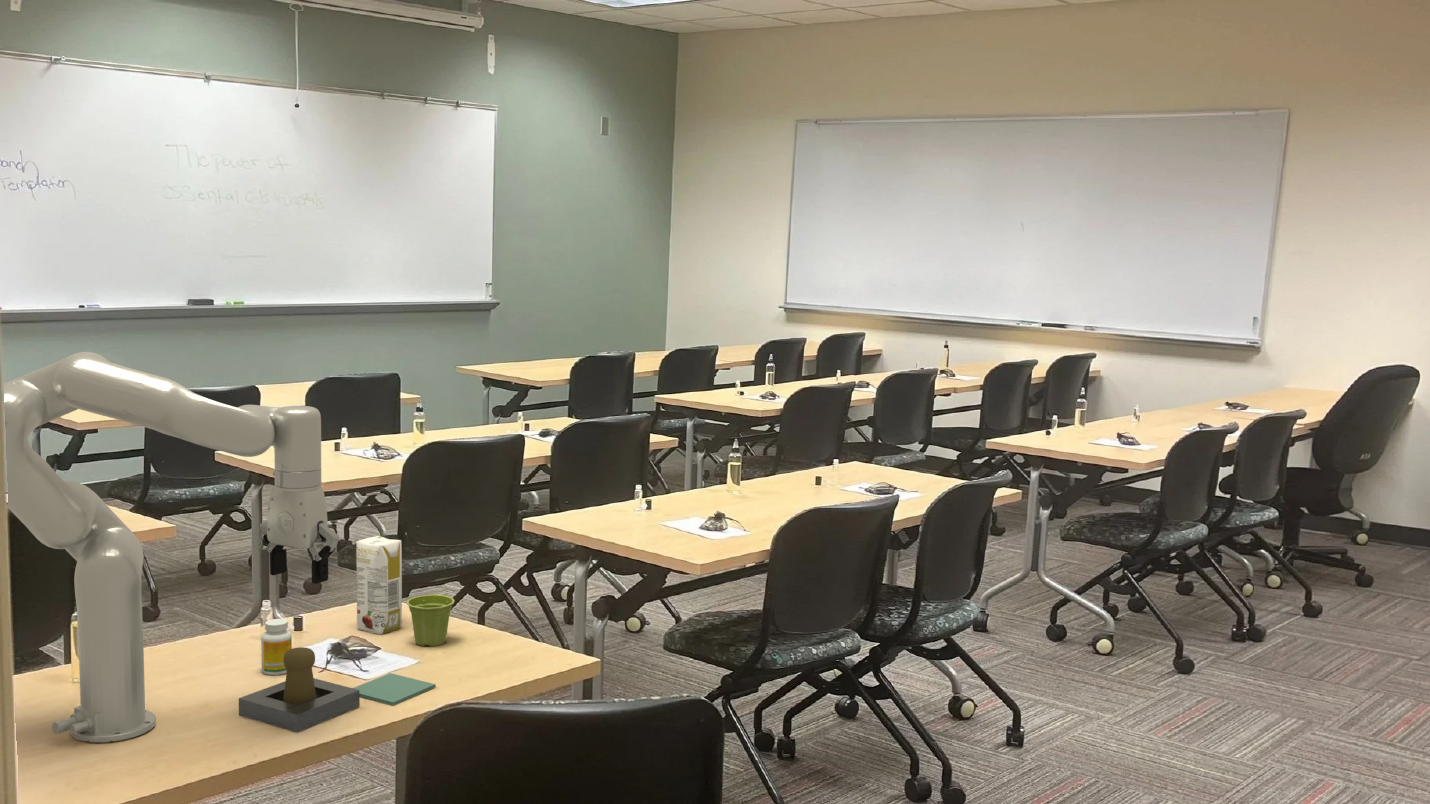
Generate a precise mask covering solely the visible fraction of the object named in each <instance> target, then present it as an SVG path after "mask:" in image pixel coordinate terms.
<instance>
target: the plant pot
mask: <svg viewBox="0 0 1430 804" xmlns="http://www.w3.org/2000/svg"><path fill="white" fill-rule="evenodd" d="M406 604H407V607H408V608H409V612H410V615H411V620H412V621H411V622H412V627H413V628H412V629H413V637H414V643H415V644H416V645H419V647H420V646H421V647H425V646H430V647H437V646H441V645H443V644H445V642H446V641H447V635H448V629H449V628H448V627H449V621H450V615H451V611H452V608H453V605H454V604H455V599H454V598H453V597H452V596H449V595H443V594H424V595H418V596H414V597H410V598H408V600H407V601H406Z"/></svg>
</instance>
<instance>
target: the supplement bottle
mask: <svg viewBox="0 0 1430 804" xmlns="http://www.w3.org/2000/svg"><path fill="white" fill-rule="evenodd" d="M288 624H289V623H288V620H287V619H285V618H274V619H268V620H266V621H265V623H264V629H265V631H264V633H262V635H261V639H260V640H261V648H260V649H261V671H262V674H265V675H267V676H268V675H269V676H281V675H285V674H286V673H287V669H286V667H285V666H284V659H283V658H284V655H285V653H286V652H287V651H288V650H290V649H293V647H292V643H293V642H292V641H293V640H292V639H293V638H292V633H291V632H290V631H289V630H288V627H289V625H288Z"/></svg>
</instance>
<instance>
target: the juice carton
mask: <svg viewBox="0 0 1430 804" xmlns="http://www.w3.org/2000/svg"><path fill="white" fill-rule="evenodd" d="M355 543H356V544H355V545H356V553H355V554H356V627H357V630H361V631H364V632H369V633H372V634H376V635H383V634H386V633H391V632H392V631H395V629H396V630H399V629H401V628H402V623H403V622H402V621H403V618H402V617H403V615H402V614H403V608H402V606H403V604H402V603H403V595H402V594H403V589H402V588H403V587H402V585H403V580H402V579H403V576H402V575H403V573H402V572H403V571H402V570H403V569H402V567H403V565H402V564H403V563H402V562H403V557H402V555H403V553H402V551H403V547H402V540H401V539H392V538H391V539H389V538H387V537H383V536H380V535H377V536H370V537H366V538H363V539H362V538H361V539H359V540H356V542H355Z"/></svg>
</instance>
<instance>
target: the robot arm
mask: <svg viewBox="0 0 1430 804" xmlns="http://www.w3.org/2000/svg"><path fill="white" fill-rule="evenodd" d="M3 384H4V410H5V428H6V460H7V482H8V507H7V508H8V510H10V512H12V514H13V515H14V516H15V517H16V518H17V519H18V520H19V521H20V522H21V523H22V524H23V525H24V526H25V527H26V528H27V530H29V532H30V533H31V534H32V535H33V536H34V537H35V538H36V539H37V540H38V541H39V542H40V543H41V544H42V545H44V546H46V547H48V548H52V549H54V550H65V551H66V552H67V553H68V554H69V555H70V557H72V558H73V559H74V560H75V561H76V566H75V570H74V578H73V580H74V594H75V595H74V596H75V607H76V619H77V620H76V621H77V642H78V665H79V666H78V667H79V668H78V669H79V693H80V694H79V698H80V701H79V702H80V705H78V706H75V707H74V708H73V710H74V712H73V714H71V715H70V716H69V717H68V718H63V719H60V720H57V721H54V722H52V724H51V730H52V732H53V734H56V735H58V734H61V733H64V732H67V731H70V735H71V737H72V738H74V739H76V740H78V741H81V742H85V741H91V742H90V743H110V741H113V742H119V741H123V740H128V739H132V738H135V737H137V736H140V735H143V734H145V733H148V732H149V731H151V730H152V729H153V728H155V726H156V723H157V722H156V721H157V720H156V719H157V718H156V715H155V714H154V713H153V712H152V711H150V710H148V709H146V695H145V694H146V693H145V691H146V690H145V687H146V686H145V659H144V658H145V657H144V656H145V652H144V626H143V623H144V622H143V597H142V573H143V572H142V571H143V564H144V557H145V555H144V549H143V546H142V544H141V542H140V540H139V538H138V537H137V536H136V535H135V533H134V532H133V531H132V530H131V529H130V528H129V527H128V526H127V524H126V523H124V522H123V521H122V519H121V518H119V516H117V514H116V513H115V512H114V510H112V509H111V508H110V507H109V506H108V505H107V503H105V501H104V500H103V499H102V498H100V496H99V495H98V494H97V493H96V492H95V491H94V490H92V489H91V488H89V487H88V486H87V485H84V484H83V483H80V482H77V481H73V480H64V479H63V478H62V477H61V476H60V475H59V473H57V472H56V471H55V470H54V469H53V468H52V467H51V465H50V464H49V463H48V462H47V461H46V460H45V459H44V458H43V457H42V456H41V455H39V454H38V452H36V451H35V450H34V449H33V448H32V446H31V445H30V443H29V436H30V434H31V433H32V432H33V431H34V430H35V429H37V427H41V426H42V425H45V424H46V423H50V422H52V421H53V420H57V419H59V418H61V417H63V416H65V415H68V414H71V413H72V412H74V411H77V410H81V411H85V412H88V413H92V414H96V415H99V416H102V417H107V418H110V419H113V420H119V421H121V422H125V423H130V424H133V425H136V426H141V427H143V428H147V429H151V430H154V431H156V432H158V433H161V434H164V435H167V436H171V437H174V438H178V439H181V440H184V441H186V442H190V443H191V444H195V445H198V446H201V447H205V448H209V449H212V450H216V451H220V452H223V453H227V454H230V455H235V456H239V457H244V458H245V457H246V458H249V457H251V458H252V457H258V456H260V455H263V454H265V453H266V452H267V451H268V450H269V449H270V448H271V447H272V446H273V448H274V449H273V451H274V470H273V473H272V475H273V477H274V485H272V486H271V489H270V494H269V498H268V506H267V519H266V520H265V521H263V522H262V523H259V528H260V532H261V534H262V536H263V537H262V540H263V542H264V543H265V545H266V550H267V552H268V553H269V573H270V574H269V575H270V576H277V575H280V574H284V573H286V572H287V571H288V565H287V564H288V563H287V562H288V560H287V559H288V558H287V555H288V553H287V549H286V547H287V548H292V549H299V550H307V549H308V550H309V552H310V553H311V555H312V557H313V560H311V582H312V584H315V585H316V584H320V583H323V582H326V581H328V580H329V559H330V558H332V555H333V554H334V552H335V551H336V547H337V545H338V542H339V540H340V536H339V535H338V534H337V533H336V531H334V530H332V528H330V527H329V523H328V511H327V509H328V508H327V503H326V496H325V492H324V487H322V418H321V417H322V416H321V413H320V411H319V409H318V408H316V407H314V406H307V405H287V406H282V407H279V406H267V405H258V404H244V405H240V406H238V407H236V406H232V405H229V404H226V403H223V402H220V401H216V400H213V399H211V398H207V397H204V396H202V395H200V394H198V393H195V392H193V391H191V390H190V389H187V388H186V387H185V386H184V385H181V383H179V382H177V381H174V380H172V379H170V378H167V377H163V376H160V375H156V374H153V373H149V372H146V371H141V370H138V369H134V368H131V367H129V366H123V365H121V364H118V363H114V362H111V361H109V360H108V359H107V358H105V357H104V356H103V355H101V354H99V353H96V352H92V351H79V352H76V353H73V354H71V355H69V356H66V357H64V358H62V359H60V360H58V361H56V362H53V363H51V364H49V365H46V366H43V367H41V368H39V369H36V370H33V371H31V372H29V373H27V374H24V375H21V376H19V377H16V378H14V379H11V380H9V381H7V382H4V383H3Z"/></svg>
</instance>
